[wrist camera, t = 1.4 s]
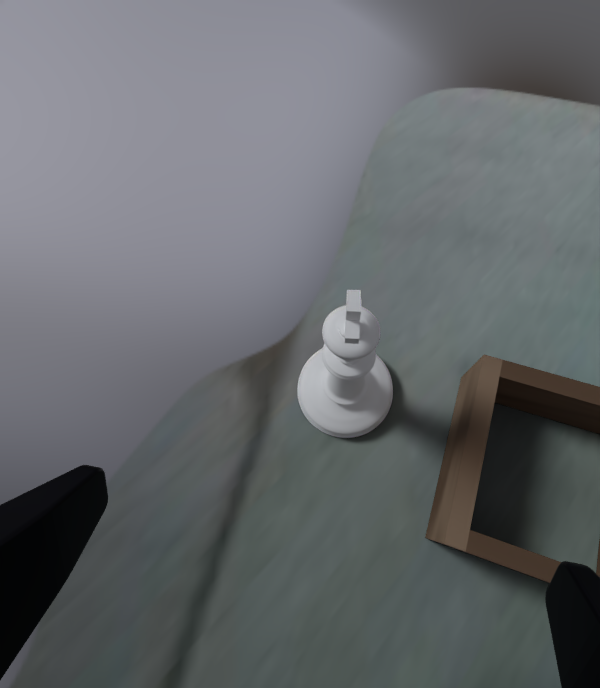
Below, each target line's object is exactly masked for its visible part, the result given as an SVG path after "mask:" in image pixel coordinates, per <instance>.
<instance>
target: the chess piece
mask: <svg viewBox="0 0 600 688" xmlns="http://www.w3.org/2000/svg"><path fill="white" fill-rule="evenodd" d="M360 297H361V290H347V301H346V306H342V307H339V308H337V309H335V310H334V311H332V312H331V313H330V314H329V315H328V317H327V318H326V320H325V322H324V324H323V330H322V334H323V339H324V342H325V344H324V346H323V348H322V349H320V350H319V351H317V352H316V353H315V354H313V355H312V356H311V357H310V358H309V360H308V361H307V362H306V364H305V365H304V367H303V369H302V371H301V374H300V377H299V381H298V389H297V393H298V400H299V404H300V407H301V409H302V411H303V413H304V415H305V417H306V418H307V419H308V420H309V422H310V423H311V424H312V425H313V426H315V427H316V428H317V429H319V430H320V431H322V432H324V433H326V434H328V435H331V436H335V437H341V438H352V437H357V436H361V435H364V434H366V433H368V432H370V431H372V430H373V429H375V428H376V427H377V426H378V425H379V424H380V423H381V422H382V421H383V420H384V419H385V417H386V415H387V414H388V412H389V410H390V407H391V404H392V399H393V385H392V379H391V375H390V373H389V370H388V368H387V367H386V365H385V364H384V362H383V361H382V360H381V359H380V358H379V357H378V356H377V355H376V351H375V348H376V346H377V345H378V343H379V340H380V335H381V330H380V325H379V322H378V320H377V318H376V317H375V316H374V315H373V314H372V313H371V312H370V311H369V310H367V309H365V308H363V307H361V299H360Z"/></svg>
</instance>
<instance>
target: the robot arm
mask: <svg viewBox="0 0 600 688" xmlns="http://www.w3.org/2000/svg"><path fill="white" fill-rule="evenodd" d="M107 503H108V493H107V486H106V479H105V473H104V471H103V469H102V468H99V467H94V466H89V465H82V466H79V467H77V468H75V469H73V470H71V471H69V472H67V473H65V474H63V475H61V476H59V477H57V478H55V479H53V480H51V481H49V482H46V483H44V484H42V485H41V486H38V487H36V488H34V489H32V490H30V491H28V492H26V493H24V494H22V495H20V496H18V497H16V498H14V499H12V500H10V501H8V502H6V503H4V504H1V505H0V680H1V678H2V677H3V675H4V674H5V672H6V671H7V669H8V668H9V666H10V665H11V663H12V662H13V660H14V659H15V657H16V656H17V654H18V653H19V651H20V650H21V648H22V647H23V645H24V644H25V642H26V641H27V639H28V638H29V636H30V635H31V633H32V632H33V630H34V629H35V627H36V626H37V624H38V623H39V621H40V620H41V618H42V617H43V615H44V614H45V612H46V611H47V609H48V608H49V606H50V605H51V603H52V602H53V600H54V599H55V597H56V596H57V594H58V593H59V591H60V590H61V588H62V587H63V585H64V583H65V582H66V580H67V579H68V577H69V575H70V573H71V572H72V570H73V568H74V566H75V565H76V563H77V561H78V559H79V557H80V555H81V553H82V552H83V550H84V548H85V546H86V544H87V542H88V540H89V539H90V537H91V535H92V533H93V531H94V529H95V527H96V526H97V524H98V522H99V520H100V518H101V516H102V514H103V513H104V511H105V509H106V506H107ZM546 607H547V612H548V618H549V623H550V628H551V634H552V639H553V644H554V650H555V655H556V660H557V665H558V671H559V676H560V681H561V686H562V688H600V577H599V576H598V575H597V574H596V573H595V572H594V571H593V570H592V569H590V568H589V567H588V566H585V565H582V564H577V563H572V562H567V561H563V562H562V563H560V564H559V566H558V567H557V569H556V572H555V574H554V576H553V578H552V580H551V582H550V584H549V586H548V588H547V591H546Z"/></svg>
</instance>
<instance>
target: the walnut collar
mask: <svg viewBox="0 0 600 688" xmlns="http://www.w3.org/2000/svg"><path fill="white" fill-rule="evenodd" d="M494 403H498V404H501V405H504V406H508V407H511V408H514V409H518V410H521V411H524V412H528V413H531V414H534V415H538V416H541V417H544V418H548V419H551V420H554V421H558V422H561V423H564V424H568V425H571V426H574V427H578V428H581V429H584V430H588V431H591V432H594V433H598V434H600V387H598V386H594V385H591V384H587V383H583V382H580V381H576V380H573V379H569V378H566V377H562V376H559V375H555V374H551V373H548V372H544V371H541V370H537V369H534V368H530V367H527V366H523V365H519V364H516V363H512V362H509V361H505V360H502V359H498V358H494V357H491V356H487V355H483V356H482V357H481V358H480V359H479V360H478V361H477V362H476V363H475V364H474V365H473V366H472V367H471V368H470V369H469V370H468V371H467V372H466V373H465V374H464V375H463V376H462V377H461V381H460V386H459V390H458V395H457V399H456V404H455V408H454V413H453V417H452V421H451V426H450V430H449V435H448V439H447V444H446V448H445V453H444V457H443V461H442V466H441V470H440V475H439V479H438V484H437V488H436V493H435V497H434V501H433V506H432V510H431V515H430V519H429V524H428V528H427V533H426V537H425V538H427V539H430V540H433V541H435V542H438V543H441V544H444V545H446V546H449V547H452V548H455V549H457V550H460V551H463V552H465V553H468V554H471V555H474V556H476V557H479V558H482V559H485V560H487V561H490V562H493V563H496V564H498V565H501V566H504V567H506V568H509V569H512V570H515V571H517V572H520V573H523V574H526V575H528V576H531V577H534V578H537V579H539V580H542V581H545V582H547V583H550V582H551V580H552V578H553V576H554V574H555V572H556V569H557V567H558V566H559V564H560V563H562V562H559V561H556V560H553V559H550V558H548V557H545V556H542V555H539V554H536V553H534V552H531V551H528V550H525V549H522V548H520V547H517V546H514V545H511V544H508V543H505V542H503V541H500V540H497V539H494V538H491V537H489V536H486V535H483V534H480V533H477V532H475V531H472V530H470V526H471V521H472V516H473V511H474V506H475V501H476V495H477V490H478V485H479V480H480V475H481V470H482V465H483V459H484V454H485V449H486V444H487V439H488V434H489V428H490V423H491V418H492V413H493V408H494ZM596 574H597V575H598V576H599V577H600V541H599V551H598V561H597V571H596Z"/></svg>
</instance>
